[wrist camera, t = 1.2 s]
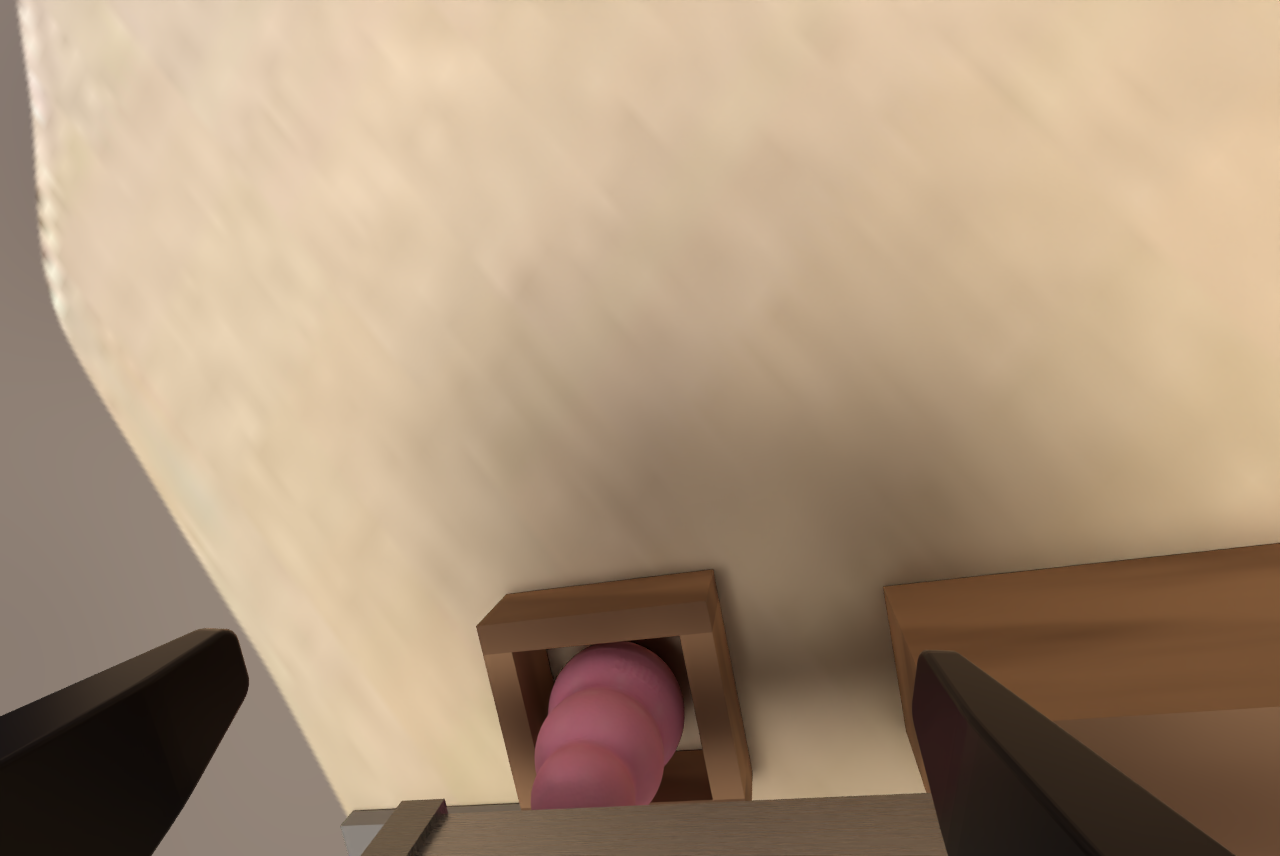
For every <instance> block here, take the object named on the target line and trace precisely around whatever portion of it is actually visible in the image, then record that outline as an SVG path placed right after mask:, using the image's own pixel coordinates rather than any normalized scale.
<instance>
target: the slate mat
mask: <svg viewBox="0 0 1280 856" xmlns="http://www.w3.org/2000/svg"><path fill="white" fill-rule="evenodd" d="M447 810H448V814H451V813H475V812H498V811H521V807H520V804H500V805H478V806H456V807H447ZM394 811H395V809H390V810H368V811H352V813H351V814H350V815H349V816H348V817H347V819H346V820H345V821H344V822H343V823H342V825H341V826H340V827H341V831H342V834H343V838H344V841H345V845H346V848H347V852H348V855H349V856H361V854H362V853H363V852H364V850H365V849H366V848H367V846H368V845H369V844H370V842H371V841H372V840H373V838H374V837H375V836H376V835H377V833H378V832H379V831H380V829H381V828H382V827H383V825H384V824H385V823H386V821H387V820H388V819H389V817H390V816H391V815H392V813H393V812H394Z"/></svg>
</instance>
